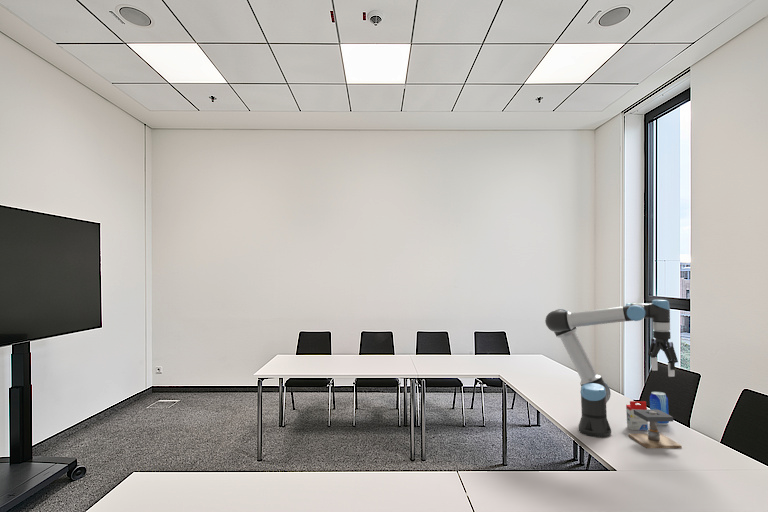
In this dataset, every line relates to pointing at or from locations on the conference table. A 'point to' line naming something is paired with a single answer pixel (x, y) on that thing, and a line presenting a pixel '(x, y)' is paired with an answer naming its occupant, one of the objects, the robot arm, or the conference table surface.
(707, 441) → the conference table surface
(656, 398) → the beer can
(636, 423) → the ink box
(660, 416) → the square holed plate
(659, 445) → the pipe stand
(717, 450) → the conference table surface
